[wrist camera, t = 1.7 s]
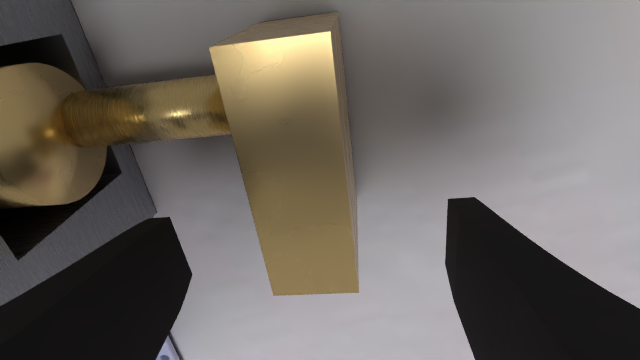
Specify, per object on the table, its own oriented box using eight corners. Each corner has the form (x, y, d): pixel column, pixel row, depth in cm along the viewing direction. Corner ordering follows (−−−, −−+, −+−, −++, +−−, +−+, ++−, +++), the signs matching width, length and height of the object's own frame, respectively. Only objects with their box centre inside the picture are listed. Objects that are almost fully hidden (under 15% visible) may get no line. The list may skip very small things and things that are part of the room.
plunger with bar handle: (357, 202, 15) (358, 303, 10) (20, 225, 17) (-105, 318, 12) (338, 11, 11) (329, 34, 7) (-79, 68, 13) (-302, 115, 9)
